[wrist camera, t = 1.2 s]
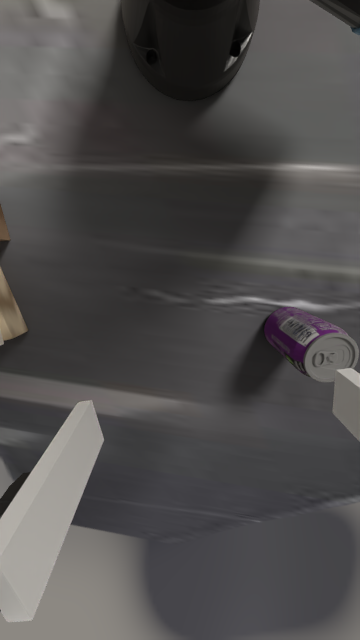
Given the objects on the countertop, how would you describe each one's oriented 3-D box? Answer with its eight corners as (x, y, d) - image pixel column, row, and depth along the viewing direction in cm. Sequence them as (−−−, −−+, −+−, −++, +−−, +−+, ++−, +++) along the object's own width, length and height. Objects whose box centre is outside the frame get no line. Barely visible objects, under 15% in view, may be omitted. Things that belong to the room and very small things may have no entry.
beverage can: (261, 347, 38) (298, 387, 27) (263, 307, 36) (303, 331, 25) (303, 345, 38) (357, 384, 26) (307, 304, 36) (368, 327, 24)
